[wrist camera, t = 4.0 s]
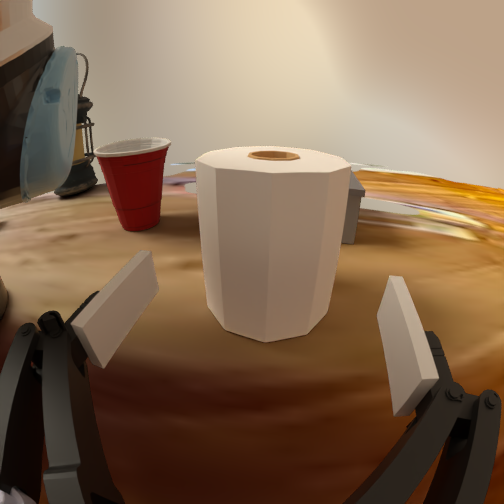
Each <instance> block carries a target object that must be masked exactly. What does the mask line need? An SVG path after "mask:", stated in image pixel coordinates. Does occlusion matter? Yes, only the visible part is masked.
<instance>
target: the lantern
mask: <svg viewBox="0 0 504 504" xmlns="http://www.w3.org/2000/svg"><path fill="white" fill-rule="evenodd" d="M76 55H81V56H83V57H84V59H85V62H86V73H85V78H84V82H83V85H82V88H81V92H80V95H79V94H78V102H77V121H76V136H75V147H74V155H73V161H72V166H71V170H70V173H69V175H68V177H67V179H66V181H65V182H64V183H63V184H62V185H61V186H60V187H59V188H57V189H56V190H55V191H54V193H55V194H56V195H59V196H65V195H73V194H77V193H80V192H83V191H85V190H87V189H89V188H91V187H93V186H94V185H95V184H96V183H97V181H98V179H97V178H96V176H95V173H94V170H93V167H92V166H91V164H90V163H91V162H92V161H93V159H94V157H96V155H94V152H93V142H92V131H91V126H94V123H91V120H90V118H89V117H87V111H89V110H90V109H91V107H92V106H93V103H92V102H89V100H90V99H88V98H87V97H83V96H82V94H83V89H84V86H85V83H86V80H87V75H88V60H87V58H86V57H85V55H83V54H81V53H76ZM87 119H88V121H89V124H86V121H87ZM81 123H84V125H82V124H81ZM87 127H89V131H90V142H91V150H92V153H89V146H88V136H87ZM82 128H85V137H86V148H87V153H85V154H84V146H83V136H82ZM85 156H88V157H85ZM90 159H91V161H90Z"/></svg>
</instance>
